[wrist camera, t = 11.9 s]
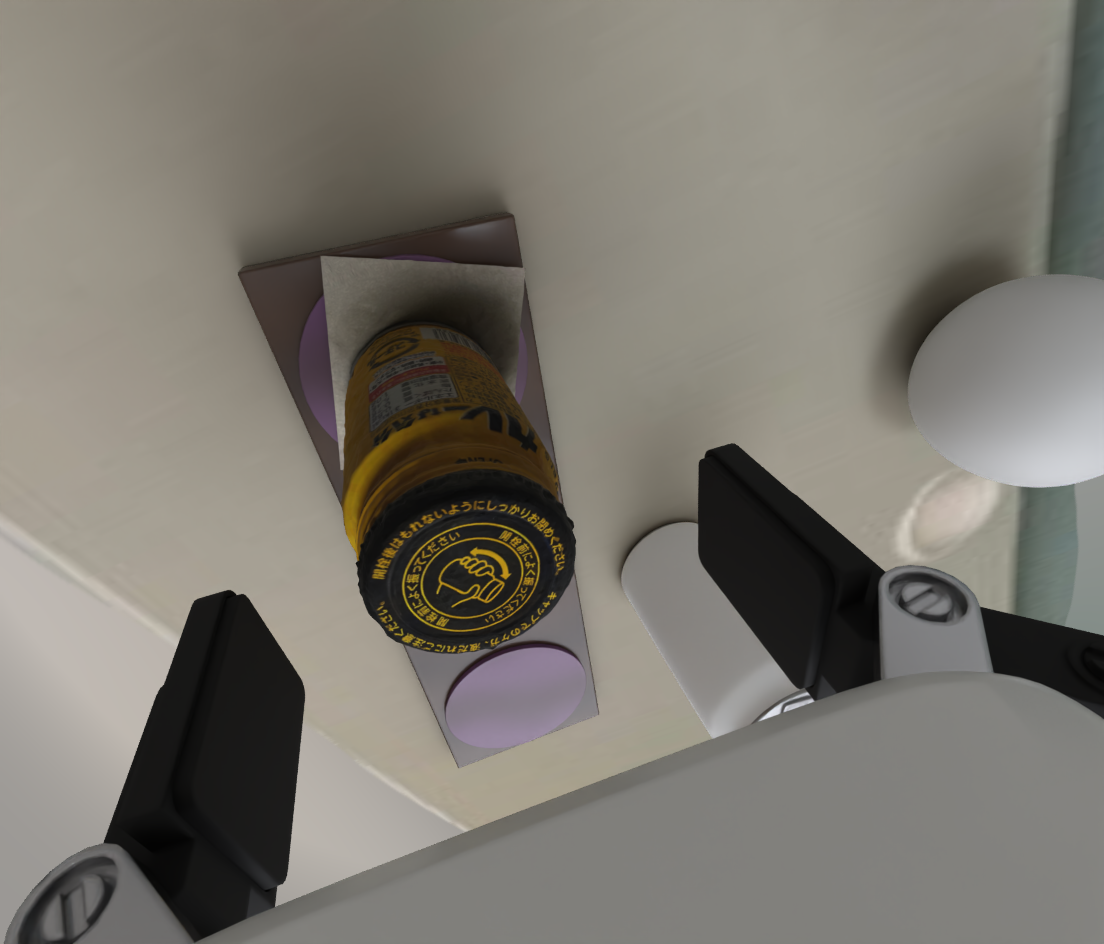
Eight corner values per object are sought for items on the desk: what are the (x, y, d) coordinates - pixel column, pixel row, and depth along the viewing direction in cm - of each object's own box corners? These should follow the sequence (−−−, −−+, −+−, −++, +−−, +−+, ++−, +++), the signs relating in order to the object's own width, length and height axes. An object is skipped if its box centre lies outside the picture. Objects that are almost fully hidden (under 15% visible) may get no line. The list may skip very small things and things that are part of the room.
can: (614, 611, 35) (717, 796, 25) (622, 527, 32) (744, 702, 22) (705, 591, 37) (835, 757, 27) (722, 510, 33) (877, 665, 23)
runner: (241, 267, 20) (234, 274, 19) (508, 211, 22) (516, 215, 21) (456, 755, 37) (459, 773, 36) (594, 702, 39) (601, 718, 38)
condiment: (340, 467, 23) (331, 705, 14) (320, 254, 19) (286, 373, 9) (509, 458, 26) (606, 657, 16) (523, 266, 22) (666, 372, 12)
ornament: (1048, 300, 33) (1347, 369, 23) (934, 449, 36) (1151, 563, 26) (954, 225, 28) (1278, 271, 18) (835, 404, 32) (1051, 523, 22)
